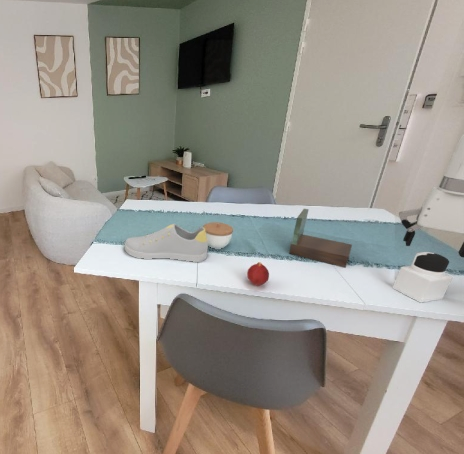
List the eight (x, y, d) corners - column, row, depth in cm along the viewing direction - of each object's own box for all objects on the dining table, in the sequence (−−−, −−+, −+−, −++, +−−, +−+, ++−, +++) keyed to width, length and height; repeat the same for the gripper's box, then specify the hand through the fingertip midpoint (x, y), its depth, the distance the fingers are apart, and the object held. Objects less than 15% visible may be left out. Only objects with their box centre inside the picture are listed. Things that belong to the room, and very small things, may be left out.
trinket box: (203, 238, 119) (205, 217, 116) (231, 242, 115) (234, 220, 111) (199, 249, 110) (201, 227, 107) (229, 254, 106) (232, 230, 102)
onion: (250, 277, 92) (254, 255, 89) (269, 284, 88) (274, 261, 85) (242, 285, 88) (245, 262, 85) (262, 293, 84) (266, 269, 81)
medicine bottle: (442, 299, 78) (462, 260, 73) (420, 303, 77) (438, 264, 72) (412, 284, 84) (428, 247, 79) (391, 287, 83) (406, 251, 79)
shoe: (206, 266, 99) (209, 234, 94) (121, 256, 108) (121, 226, 104) (206, 252, 108) (209, 222, 103) (128, 244, 117) (128, 216, 113)
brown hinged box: (348, 254, 101) (360, 217, 96) (345, 267, 94) (357, 228, 88) (295, 242, 111) (303, 208, 106) (289, 253, 104) (297, 217, 99)
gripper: (518, 187, 66) (481, 254, 72) (411, 177, 76) (388, 235, 83) (529, 195, 61) (488, 266, 67) (412, 183, 71) (388, 245, 78)
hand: (433, 249), depth 75 cm, fingers open, 9 cm apart
